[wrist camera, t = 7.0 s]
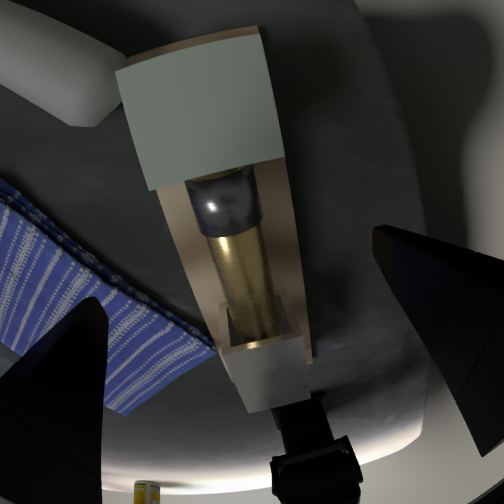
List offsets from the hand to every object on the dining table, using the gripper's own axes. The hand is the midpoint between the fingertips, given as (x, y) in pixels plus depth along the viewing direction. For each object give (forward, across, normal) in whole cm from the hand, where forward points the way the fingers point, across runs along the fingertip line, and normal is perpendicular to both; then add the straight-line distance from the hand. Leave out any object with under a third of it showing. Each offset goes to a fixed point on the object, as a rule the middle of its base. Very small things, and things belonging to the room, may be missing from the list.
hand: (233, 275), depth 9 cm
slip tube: (+10, 0, +3) cm, 10 cm away
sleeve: (+11, 0, +13) cm, 17 cm away
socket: (+11, 0, -4) cm, 12 cm away
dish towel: (+12, +17, +8) cm, 22 cm away
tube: (+11, +12, -16) cm, 23 cm away
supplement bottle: (+11, +31, +53) cm, 63 cm away
